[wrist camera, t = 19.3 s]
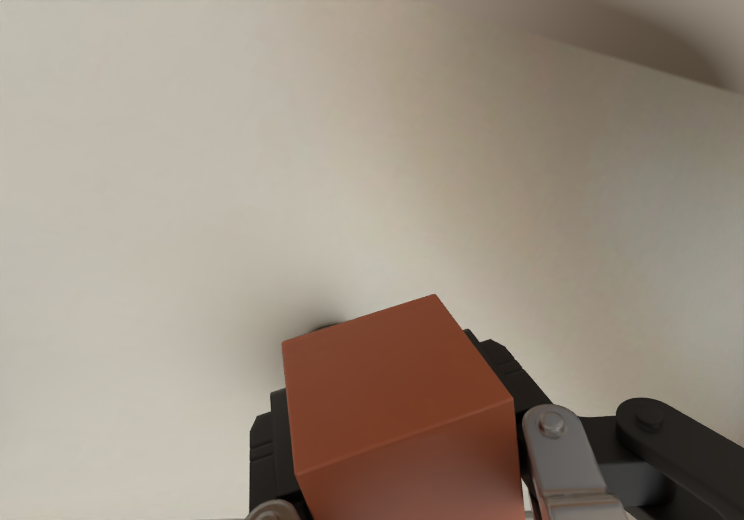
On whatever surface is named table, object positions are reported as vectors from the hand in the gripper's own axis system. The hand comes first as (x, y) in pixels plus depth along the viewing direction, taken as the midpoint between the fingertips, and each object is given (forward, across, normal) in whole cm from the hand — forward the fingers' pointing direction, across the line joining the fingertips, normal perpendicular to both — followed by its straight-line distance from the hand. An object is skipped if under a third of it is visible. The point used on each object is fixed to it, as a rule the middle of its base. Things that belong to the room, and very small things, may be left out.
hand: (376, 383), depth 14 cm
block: (0, 0, 0) cm, 0 cm away
